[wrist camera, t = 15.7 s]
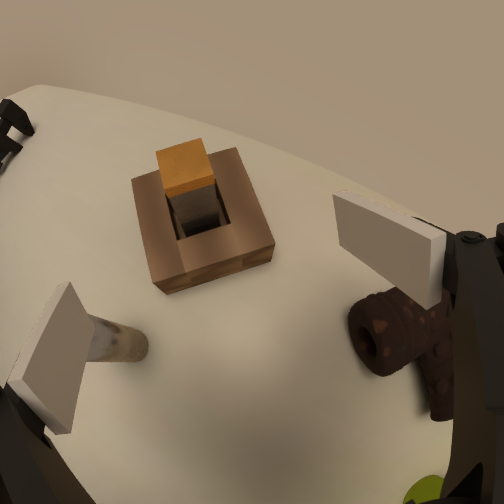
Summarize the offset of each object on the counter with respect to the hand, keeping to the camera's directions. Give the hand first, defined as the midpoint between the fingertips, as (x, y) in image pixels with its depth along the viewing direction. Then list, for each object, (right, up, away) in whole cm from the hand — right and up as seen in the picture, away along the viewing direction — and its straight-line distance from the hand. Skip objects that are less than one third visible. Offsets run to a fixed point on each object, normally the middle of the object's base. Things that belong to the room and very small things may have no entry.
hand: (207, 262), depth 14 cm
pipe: (+20, -10, +15) cm, 27 cm away
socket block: (-3, +3, +18) cm, 19 cm away
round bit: (-10, -9, +14) cm, 19 cm away
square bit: (-3, +3, +18) cm, 18 cm away
